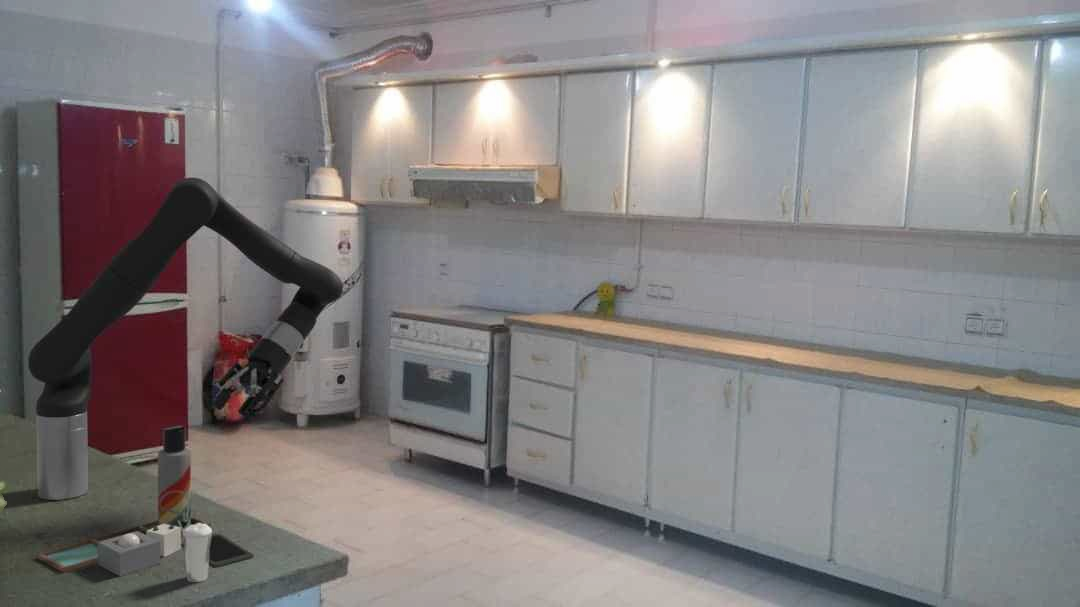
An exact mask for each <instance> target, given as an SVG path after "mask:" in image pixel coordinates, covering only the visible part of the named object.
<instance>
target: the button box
mask: <svg viewBox="0 0 1080 607" xmlns="http://www.w3.org/2000/svg"><path fill="white" fill-rule="evenodd" d="M128 534H135V535H136V536H138V538H139V540H140V544H136V545H133V546H130V547H126V548H123V547H121V546H118V542H119V540H120V538H121V537H122V536H124V535H121V536H118V537H114V538H111V539H107V540H104V541H100V542H98V563H97V565H98V566H100V567H102V568H104V569H105V570H107V571H108V572H111V573H113V574H115V575H117V576H119V577H124V576H126V575H129V574H132V573H135V572H138V571H142V570H145V569H147V568H151V567H153V566H157V565H160V564H161V558H160V557H161V556H160V541H158V540H156V539H154V538H152V537H149V536H147V535H146V534H145V533H143V532H141V531H135V532H132V533H128Z"/></svg>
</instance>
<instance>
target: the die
mask: <svg viewBox="0 0 1080 607" xmlns="http://www.w3.org/2000/svg"><path fill="white" fill-rule="evenodd" d="M149 529H150V530H147V531H146V534H145V535H147V536H149V537H152V538H154V539H156V540H158V541H160V557H164V558H165V557H166V556H169V555H171V554H173V553H176V552H177V551H179V550H181V549H182V537H181V527H177V526H173V525H167V524H161V525H159V526H158V525H156V526H153V527H151V528H149Z"/></svg>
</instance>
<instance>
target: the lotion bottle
mask: <svg viewBox="0 0 1080 607" xmlns="http://www.w3.org/2000/svg"><path fill="white" fill-rule="evenodd" d="M162 434H163V444H162V445H163V447H162V449H161V450H159V451H158V453H157V520H158V525H157V526H159V525H161V524H167V525H173V526H177V527H180V525H179V522H178V520H179V521H180V523H181V526H182V528H183V530H185V529H186V528H187V527H189V526H190V525H191V521H190V516H191V482H192V481H191V471H192V470H191V465H192V464H191V461H192V460H191V459H192V458H191V450H190V449H189V448H186V427H185V426H184V425H182V424H181V425H180V424H178V425H177V424H176V425H171V426H168V427H166V428H163V433H162ZM181 532H182V529H181Z"/></svg>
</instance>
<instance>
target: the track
mask: <svg viewBox="0 0 1080 607" xmlns="http://www.w3.org/2000/svg"><path fill="white" fill-rule="evenodd" d="M190 523H193V524H197V523H202V524H207V525H208V526H209V527H210V528H211V526H212V525H211V523H209V522H207V521H204V520H202V519H200V518H197V517H194V516H192V515H190ZM157 526H158V519H157V520H152V521H150V522H145V523H143V524H139V525H136V526H132V527H129V528H124V529H121V530H118V531H117V530H116V531H114V532H110V533H107V534H103V535H100V536H96V537H93V538H89V539H85V540H82V541H78V542H74V543H71V544H67V545H63V546H60V547H57V548H53V549H50V550H49V549H48V550H46V551H42V552H39V553H37V559H38V560H40V561H42V562H44V563H45V564H47V565H48V566H50V567H52V568H54V569H56V570H58V571H60V572H61V573H64V574H65V573H68V572H71V571H74V570H78V569H81V568H83V567H88V566H91V565H94V564H98V542H101V541H104V540H108V539H111V538H115V537H118V536H122V535H125V534H129V533H132V532H136V531H138V532H141V533H143V534H145V535H146V531H147V530H150V529H151V528H154V527H157ZM211 529H212V528H211ZM181 538H183V531H182V532H181Z"/></svg>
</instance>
